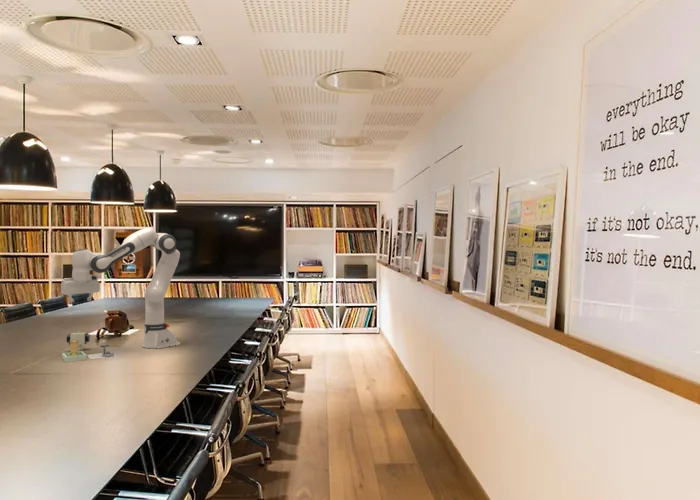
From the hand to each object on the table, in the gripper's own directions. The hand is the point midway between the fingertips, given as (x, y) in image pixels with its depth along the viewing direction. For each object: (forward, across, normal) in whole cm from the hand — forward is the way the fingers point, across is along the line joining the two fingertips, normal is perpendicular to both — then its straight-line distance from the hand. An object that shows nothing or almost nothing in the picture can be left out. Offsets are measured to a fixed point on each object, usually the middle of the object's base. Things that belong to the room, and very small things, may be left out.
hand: (80, 301), depth 279 cm
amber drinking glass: (+30, -8, -10) cm, 33 cm away
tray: (+31, -8, -10) cm, 34 cm away
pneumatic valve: (+31, +4, +10) cm, 33 cm away
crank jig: (+31, +5, -14) cm, 34 cm away
